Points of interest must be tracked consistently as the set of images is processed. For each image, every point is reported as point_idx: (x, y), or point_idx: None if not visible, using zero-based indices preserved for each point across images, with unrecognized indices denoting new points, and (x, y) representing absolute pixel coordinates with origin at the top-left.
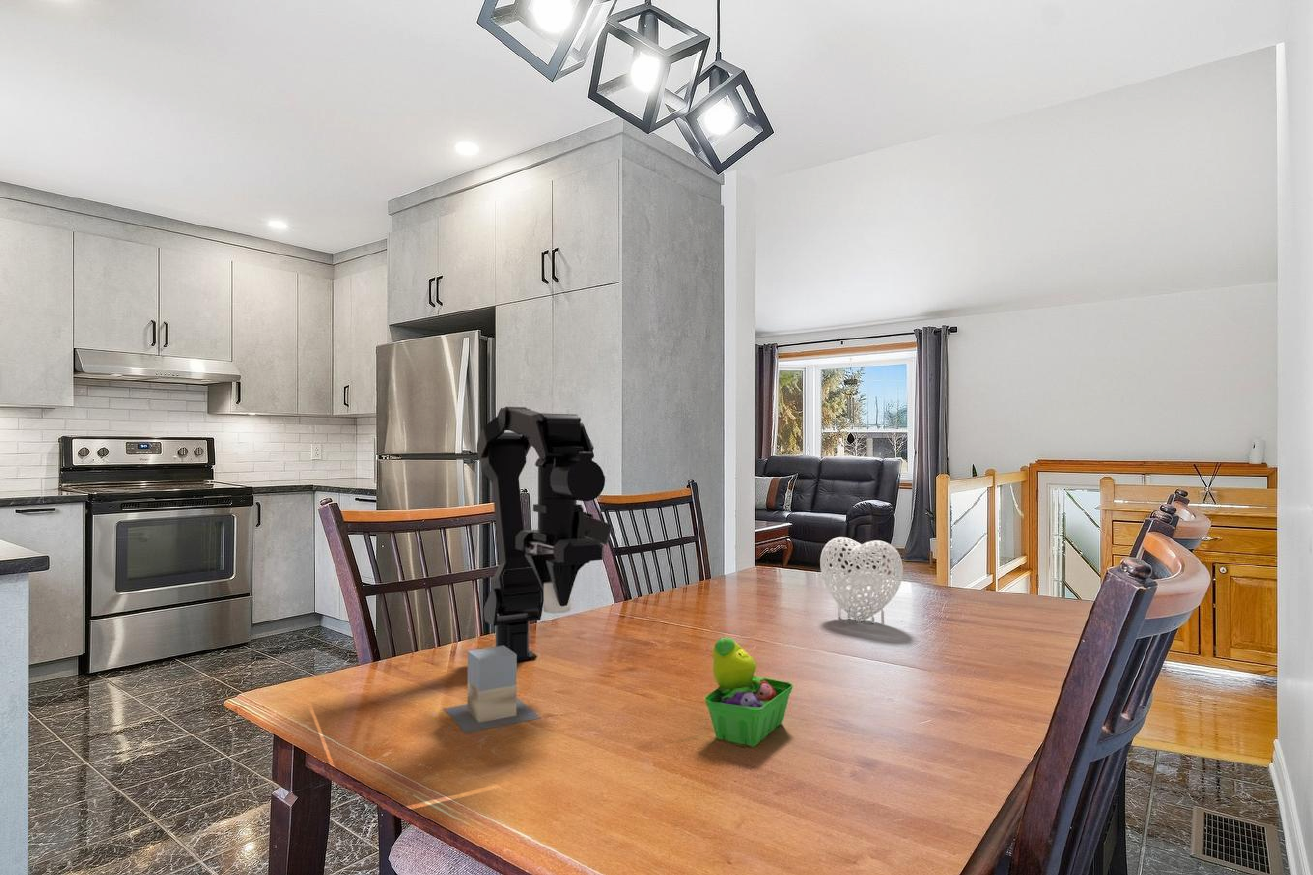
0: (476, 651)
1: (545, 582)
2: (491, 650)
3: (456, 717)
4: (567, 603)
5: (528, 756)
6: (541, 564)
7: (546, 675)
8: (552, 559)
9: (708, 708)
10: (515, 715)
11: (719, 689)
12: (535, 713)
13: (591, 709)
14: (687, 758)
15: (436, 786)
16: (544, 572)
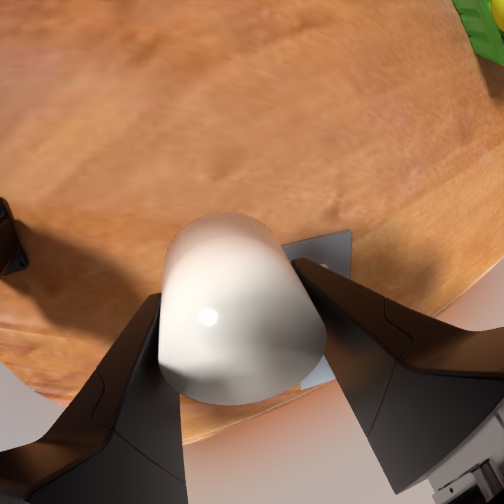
0: (313, 380)
1: (197, 400)
2: (321, 363)
3: None
4: (306, 259)
5: (422, 257)
6: (174, 494)
7: (103, 183)
8: (134, 500)
9: (502, 65)
10: (325, 264)
11: (501, 33)
12: (332, 237)
13: (340, 141)
14: (492, 113)
15: None
16: (168, 445)
